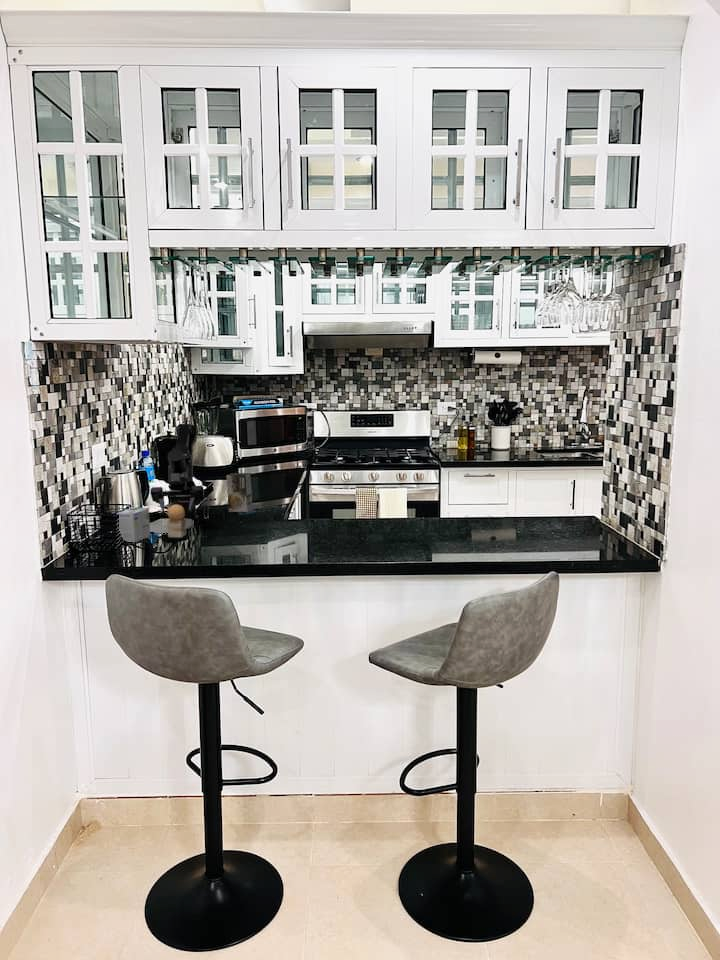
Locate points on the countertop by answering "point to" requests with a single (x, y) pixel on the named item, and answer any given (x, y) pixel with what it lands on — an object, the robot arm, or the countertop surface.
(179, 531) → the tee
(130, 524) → the light bulb box
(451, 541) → the countertop surface
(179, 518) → the ball
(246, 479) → the coffee box
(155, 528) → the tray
